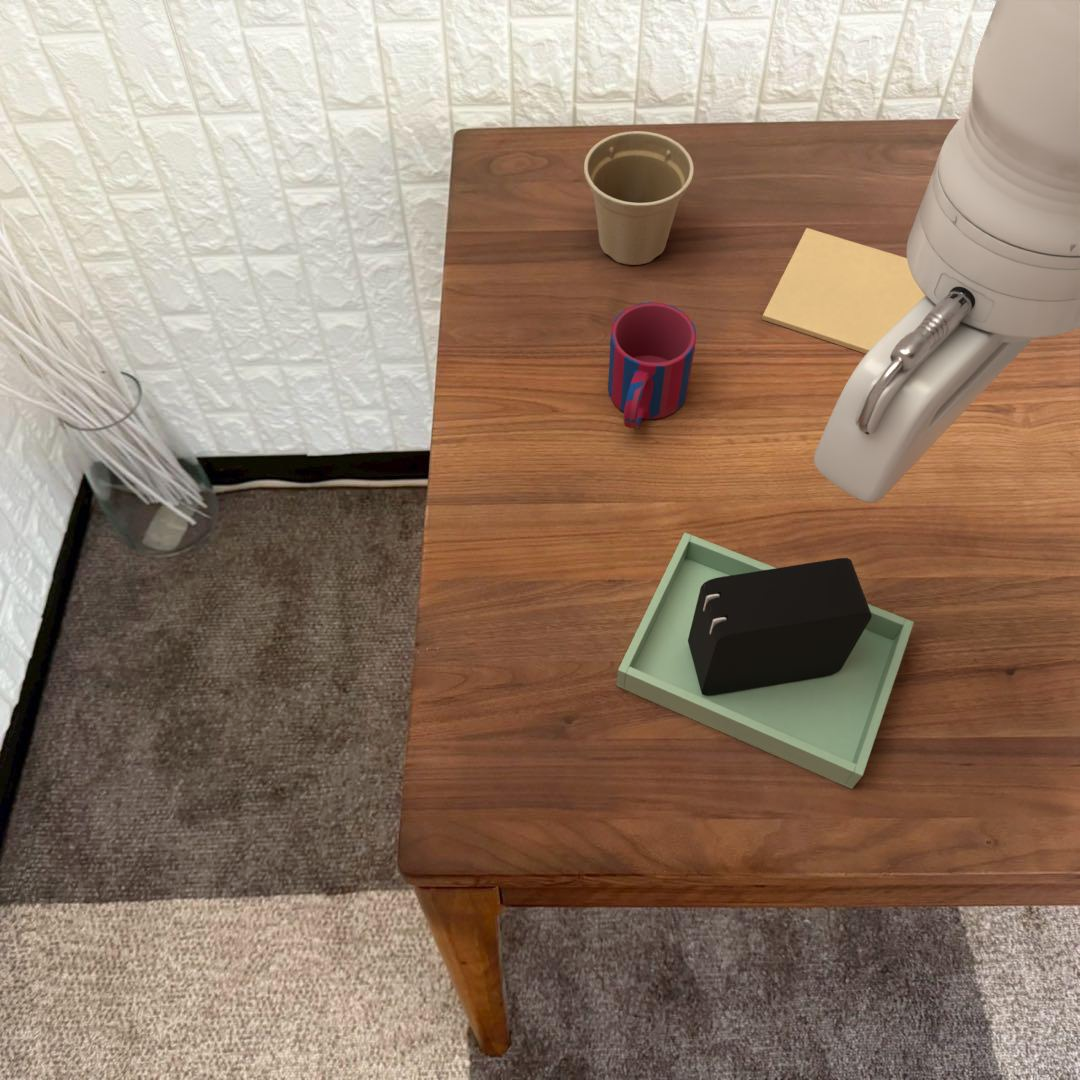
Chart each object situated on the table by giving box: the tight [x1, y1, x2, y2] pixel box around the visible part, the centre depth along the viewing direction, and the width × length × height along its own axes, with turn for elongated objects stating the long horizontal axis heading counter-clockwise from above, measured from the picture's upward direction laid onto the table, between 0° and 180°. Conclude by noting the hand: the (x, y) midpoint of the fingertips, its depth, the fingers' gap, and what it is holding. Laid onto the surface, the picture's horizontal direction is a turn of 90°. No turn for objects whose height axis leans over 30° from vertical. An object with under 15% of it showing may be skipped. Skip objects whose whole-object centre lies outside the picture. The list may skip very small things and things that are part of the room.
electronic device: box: [688, 557, 872, 696], centre depth 68 cm, size 4×10×10 cm, turn 99°
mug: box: [607, 301, 697, 429], centre depth 82 cm, size 7×10×7 cm
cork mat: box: [761, 227, 926, 355], centre depth 90 cm, size 14×12×1 cm
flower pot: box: [583, 130, 695, 266], centre depth 90 cm, size 9×9×9 cm
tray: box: [615, 532, 915, 790], centre depth 71 cm, size 17×12×3 cm
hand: (925, 430), depth 55 cm, fingers open, 8 cm apart
